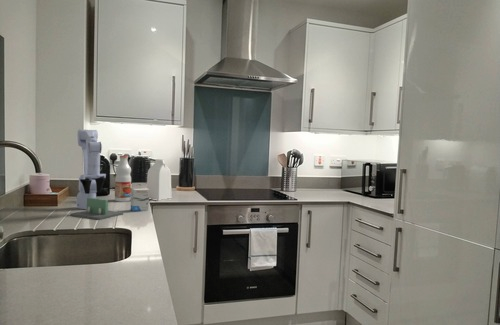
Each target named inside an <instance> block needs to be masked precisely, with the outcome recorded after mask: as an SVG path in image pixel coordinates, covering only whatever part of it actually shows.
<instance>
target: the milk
mask: <svg viewBox="0 0 500 325" xmlns="http://www.w3.org/2000/svg"><path fill="white" fill-rule="evenodd" d="M146 183H147V185H146V188H147V189H149V198H151V199H157V200H161V199H167V198H172V195H173V194H172V172H171V169H170V167H168V165H166V162H165V159H159V158H156V159H155V161H154V162H153V164H152V165H151V166H150V167H149V169H148V170H147V178H146Z"/></svg>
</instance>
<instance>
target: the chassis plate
mask: <svg viewBox="0 0 500 325" xmlns="http://www.w3.org/2000/svg"><path fill="white" fill-rule="evenodd" d="M69 215H70V217H76V218H84V219H90V220H98V221H100V220H105V219H108V218H109V219H110V218H113V217H118V216H122V215H124V212H121V211H116V210H115V211H114V210H108V214H106V215H105V214H101V208H99V214H98V213H90V207H88V212H87V210H83V211H82V210H81V211H78V212H73V213H72V212H71V213H70V214H69Z"/></svg>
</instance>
